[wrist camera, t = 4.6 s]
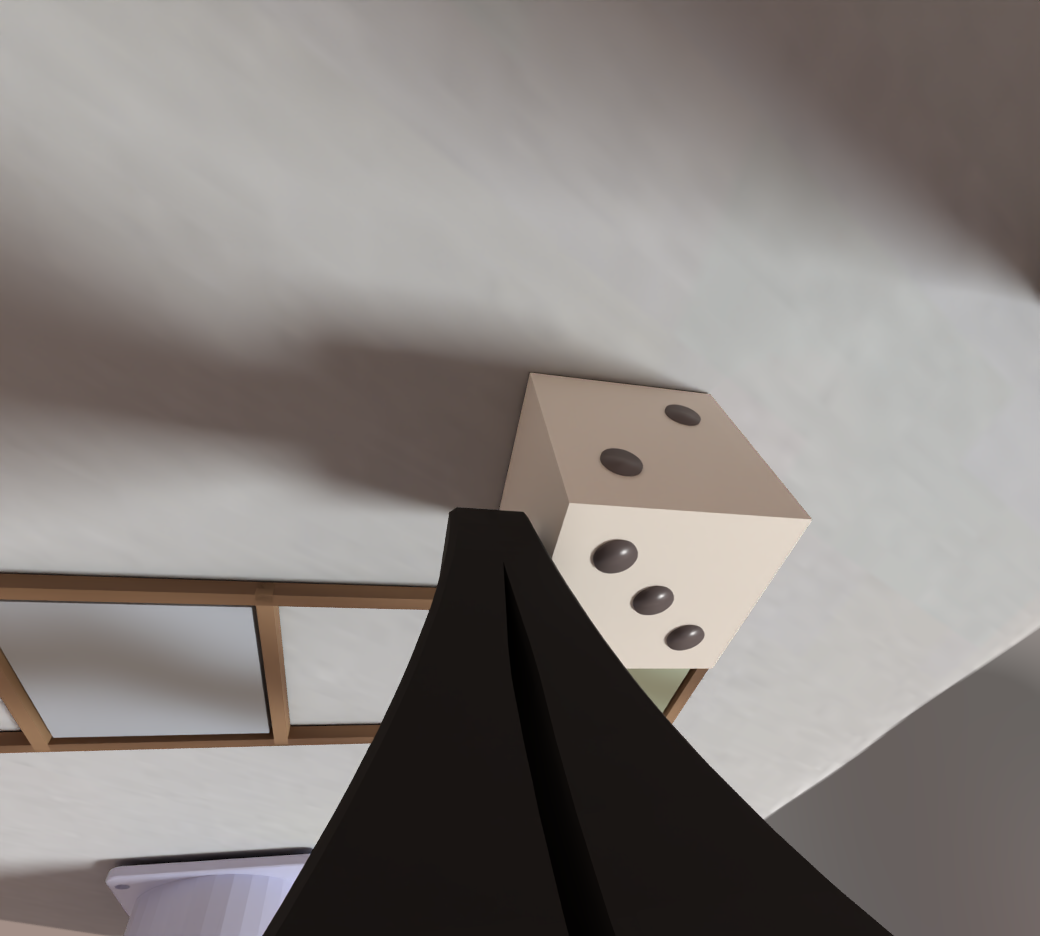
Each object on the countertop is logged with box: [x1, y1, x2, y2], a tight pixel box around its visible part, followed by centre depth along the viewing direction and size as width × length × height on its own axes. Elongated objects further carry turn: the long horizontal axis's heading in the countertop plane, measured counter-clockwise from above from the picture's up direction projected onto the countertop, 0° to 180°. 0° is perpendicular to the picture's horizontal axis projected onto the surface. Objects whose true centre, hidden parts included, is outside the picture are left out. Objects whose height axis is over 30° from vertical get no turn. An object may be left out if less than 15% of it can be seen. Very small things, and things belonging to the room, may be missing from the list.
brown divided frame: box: [0, 573, 708, 753], centre depth 15 cm, size 7×26×1 cm, turn 79°
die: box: [499, 373, 812, 669], centre depth 11 cm, size 4×4×4 cm
